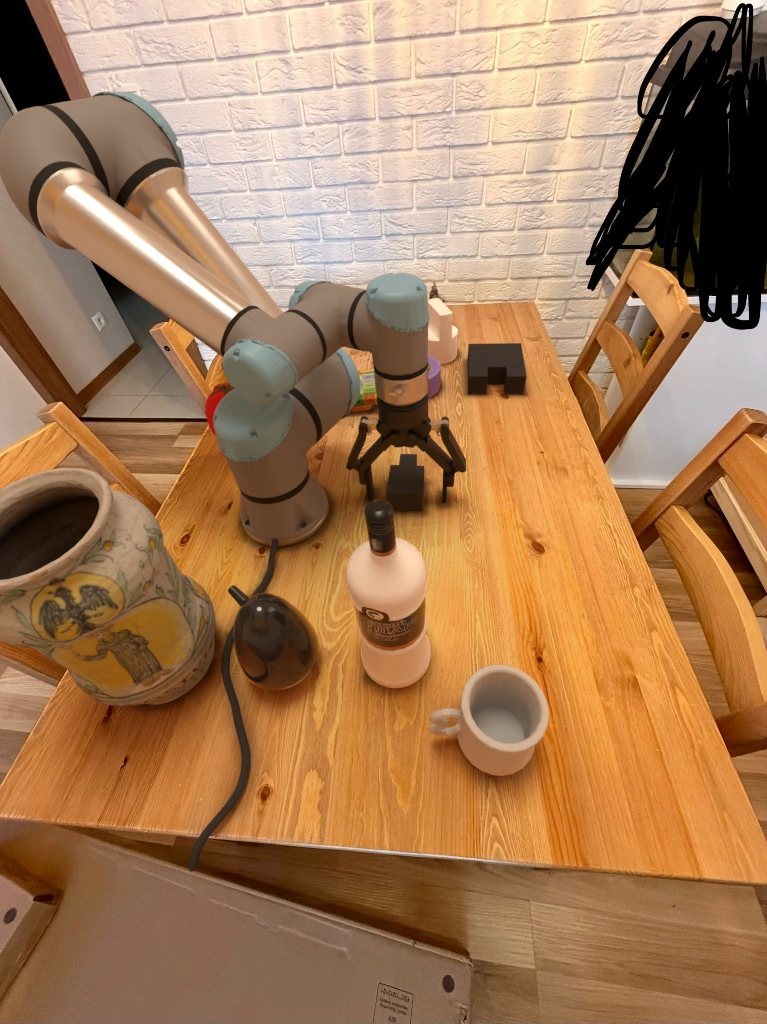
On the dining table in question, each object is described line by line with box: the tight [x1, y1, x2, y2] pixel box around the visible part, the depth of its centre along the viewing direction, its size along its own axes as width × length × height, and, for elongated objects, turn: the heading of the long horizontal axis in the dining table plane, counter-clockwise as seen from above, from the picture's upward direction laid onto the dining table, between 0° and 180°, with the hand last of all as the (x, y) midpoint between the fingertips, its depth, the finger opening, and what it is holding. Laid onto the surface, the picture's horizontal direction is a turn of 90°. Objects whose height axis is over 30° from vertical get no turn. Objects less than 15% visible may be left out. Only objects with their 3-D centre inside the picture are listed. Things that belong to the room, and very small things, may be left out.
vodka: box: [345, 498, 431, 689], centre depth 51 cm, size 9×9×30 cm
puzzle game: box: [349, 368, 377, 413], centre depth 102 cm, size 12×5×20 cm
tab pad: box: [385, 453, 425, 513], centre depth 82 cm, size 10×6×4 cm, turn 174°
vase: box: [0, 467, 216, 707], centre depth 53 cm, size 18×18×30 cm
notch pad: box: [466, 342, 528, 395], centre depth 104 cm, size 14×12×4 cm
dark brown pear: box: [227, 585, 320, 691], centre depth 57 cm, size 10×10×15 cm
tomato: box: [204, 381, 235, 438], centre depth 92 cm, size 12×12×13 cm
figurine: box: [428, 280, 446, 304], centre depth 118 cm, size 6×6×12 cm
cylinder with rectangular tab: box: [428, 298, 459, 365], centre depth 109 cm, size 9×9×12 cm
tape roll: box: [428, 356, 441, 399], centre depth 104 cm, size 12×12×5 cm
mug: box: [428, 664, 550, 777], centre depth 51 cm, size 12×9×10 cm
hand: (407, 496), depth 82 cm, fingers open, 12 cm apart
